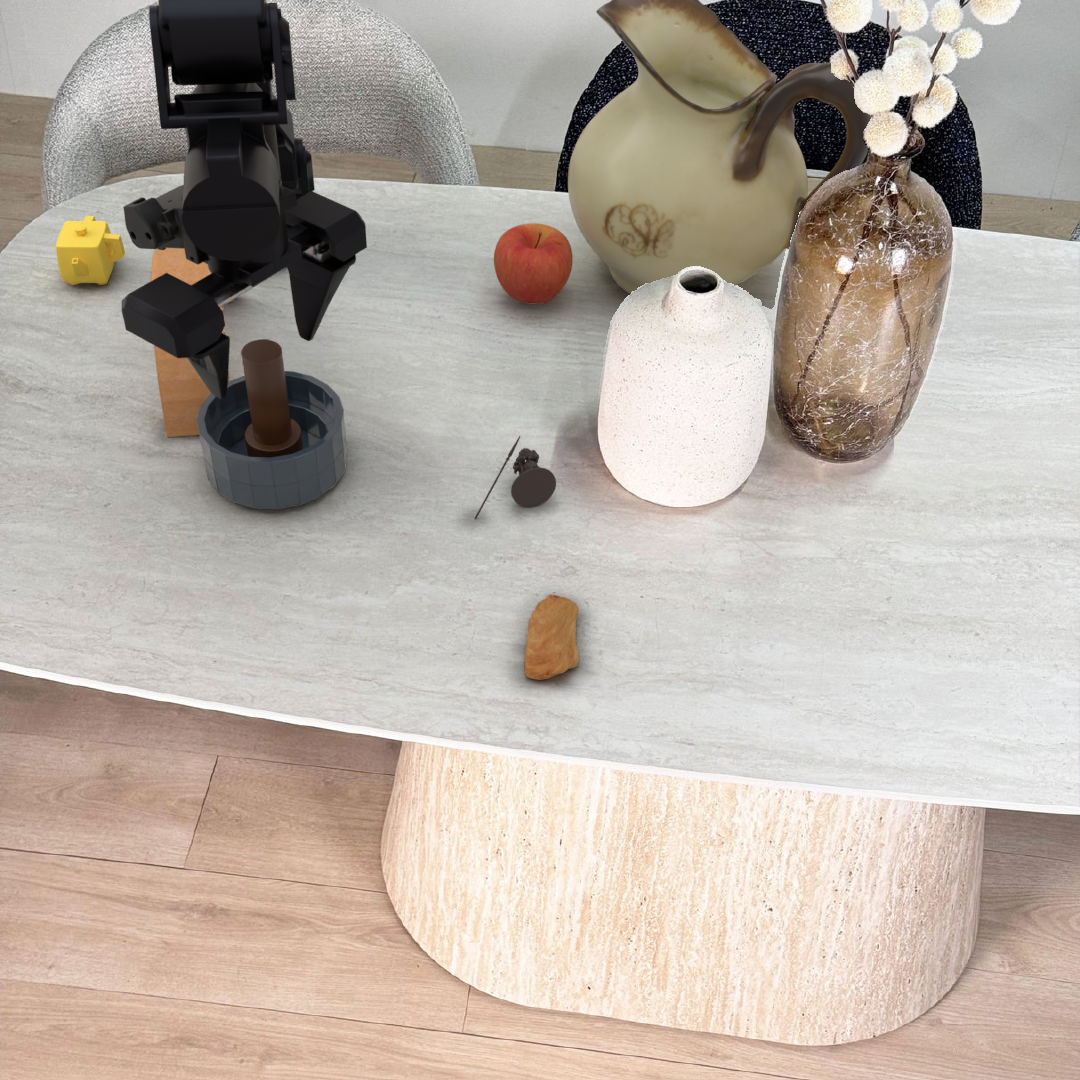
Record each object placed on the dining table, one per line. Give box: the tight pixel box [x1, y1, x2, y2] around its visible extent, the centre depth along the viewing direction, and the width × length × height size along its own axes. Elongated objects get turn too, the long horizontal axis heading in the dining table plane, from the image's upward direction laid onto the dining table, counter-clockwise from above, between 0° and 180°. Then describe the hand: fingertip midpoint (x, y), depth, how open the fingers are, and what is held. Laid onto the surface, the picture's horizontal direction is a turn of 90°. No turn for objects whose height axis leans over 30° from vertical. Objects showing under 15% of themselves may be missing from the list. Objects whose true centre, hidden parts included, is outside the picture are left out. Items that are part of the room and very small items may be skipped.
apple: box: [493, 222, 574, 305], centre depth 118 cm, size 7×7×8 cm
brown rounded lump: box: [523, 594, 580, 681], centre depth 90 cm, size 8×2×5 cm
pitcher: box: [567, 0, 871, 295], centre depth 117 cm, size 22×24×25 cm
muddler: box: [240, 338, 303, 457], centre depth 99 cm, size 4×4×11 cm
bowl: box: [197, 370, 349, 510], centre depth 101 cm, size 11×11×6 cm
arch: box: [150, 248, 236, 438], centre depth 109 cm, size 6×20×10 cm, turn 9°
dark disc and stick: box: [474, 435, 557, 520], centre depth 101 cm, size 5×8×4 cm
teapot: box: [55, 215, 126, 286], centre depth 119 cm, size 8×6×5 cm
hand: (263, 366), depth 95 cm, fingers open, 9 cm apart
